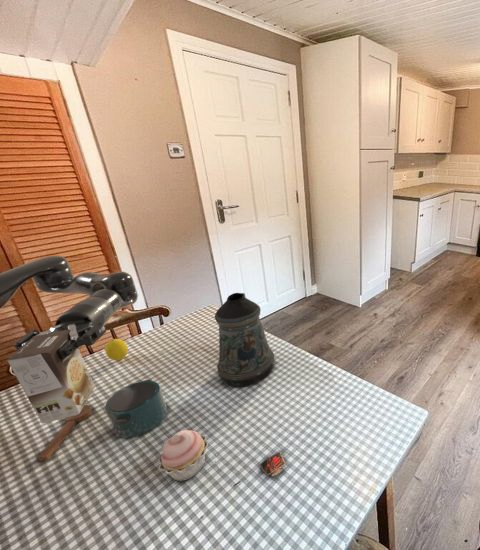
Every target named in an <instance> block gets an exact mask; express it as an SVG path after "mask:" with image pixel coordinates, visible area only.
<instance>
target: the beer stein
mask: <svg viewBox="0 0 480 550" xmlns="http://www.w3.org/2000/svg"><path fill="white" fill-rule="evenodd" d="M261 311H262V310H261V307H260V305H259V304H257V302H254V301H252V300H250V299H248V298H247V297H246V294H245V292H234V293H232V294H230V295H228V296H227V298H226V301H225V302H224V303H223V304H221V306H219V308H218V309H217V310H216V312H215V314H214V320H215V321H216V323H217V324H218V342H219V352H218V353H219V354H218V362H217V365H216V367H217V374H218V375H219V378H220V379H221V381H222V382H223V384H224V385H226V386H229V387H233V388H246V387H249V386H253V385H257V384H259V383H260V382H261V381H263V380H264V379H266V378H267V377H269V376H270V375H271V373H272V371H273V369H274V366H275V365H274V363H275V353H274V351H273V350H272V348H271V347H270V345H269V342H268V340H267V335H266V333H265V330H264V327H263V324H262V321H261V319H260V315H261Z"/></svg>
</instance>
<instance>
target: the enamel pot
mask: <svg viewBox="0 0 480 550" xmlns="http://www.w3.org/2000/svg"><path fill="white" fill-rule="evenodd" d="M104 410H105V412H106V414H107V417H108V419H109V421H110V423H111V426H112V429H113V430H114V432H115V434H116V436H118V437H119V438H125V439H130V438H135V437H139V436H141V435H144V434H146V433H148V432H150V431H151V430H153V429H155V428H156V427H157V426H158V425H159V424H160V423H161V422H163V421H164V419H165V417H166V416H167V413H168V407H167V404H166V400H165V398H164V394H163V392H162V389H161V387H160V384H159V383H158V382H157V381H153V380H152V379H146V380H141V381H137V382H134V383H131V384H129V385H126V386H125V387H123V388H120V389H118V391H116V392H114V393H113V394H112V395H111V396H110V397H109V398H108V399H107V400H106V403H105V405H104Z"/></svg>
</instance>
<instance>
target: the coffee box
mask: <svg viewBox="0 0 480 550" xmlns="http://www.w3.org/2000/svg"><path fill="white" fill-rule="evenodd" d="M70 331H71V330H64V331H58V332H52V333H47V334H44V335H38V336H33V337H32V338H31V339H30V340H29V341H28V342H27V343H26V344H25V345H23V346H22V347H21V348H20V349H19V350H18V351H17V350H16V351H17V352H16V351H15V352H13V353H14V354H13V353H12V354H13V355H12V354H11V355H12V356H11V355H10V356H11V357H10V356H9V357H10V358H9V357H8V358H7V359H6V361H7V363H8V364H9V366H10V368H11V370H12V373H14V375H15V377H16V379H17V381H18V383H19V384H20V387H21V389H22V390H23V392H24V394H25V396H26V397H27V399H28V401H29V403H30V404H31V406H32V408H33V410H34V412H35V414H36V416H37V417H38V419H39V421H40V423H41V424H47V423H51V422H54V421H58V420H63V419H65V418H67V417H71V416H75V415H78V414H79V413H80V411H81V410H82V408H83V406H84V405H86V403H87V401H88V400H89V398H90V397H91V394H92V393H93V391H94V390H95V389H96V385H95V382H94V381H93V378H92V376H91V374H90V372H89V370H88V367H87V364H86V363H85V361H84V358H83V356H82V353H81V351H80V348H79V349H76V350H75V351H74V352H73V353H72V354H71V355H69V356H68V357H66V358H65V359H59V357H58V355H57V352H56V351H57V350H58V349H59V348H60V347H61V346H62V345H64V344H65V343H66V342H67V341H70V340H71V339H70V335H69V332H70Z"/></svg>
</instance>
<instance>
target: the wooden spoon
mask: <svg viewBox="0 0 480 550" xmlns="http://www.w3.org/2000/svg"><path fill="white" fill-rule="evenodd" d="M91 414H92V408H91V406H90V405H89V404H85V405H84V406H83V408H82V410H81V411H80V413H79V414H78V415H75V416H71V417H67V418H64V420H65V422H66V423H65V424H64V425H63V426H62V428H61V429H60V430H59V431H58V432H57V434H56V435H55V436H54V438H52V439H51V441H50V442H49V444H48V445H47V446H46V447H45V448H44V450H43V451H42V452H41V453H40V455H38V456H37V460H38V462H43V461H48V460H49V459H50V458H51V456H52V455H53V454H54V453H55V452H56V450H57V449H58V448H59V446H60V445H61V444H62V443H63V441H64V440H65V439H66V437H67V436H68V435H69V434H70V432H71V431H72V430H73V429H74V427H75V426H76V425H77V423H79V422H82V421H84V420H85V419H87V418H88V417H89V416H90V415H91Z"/></svg>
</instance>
